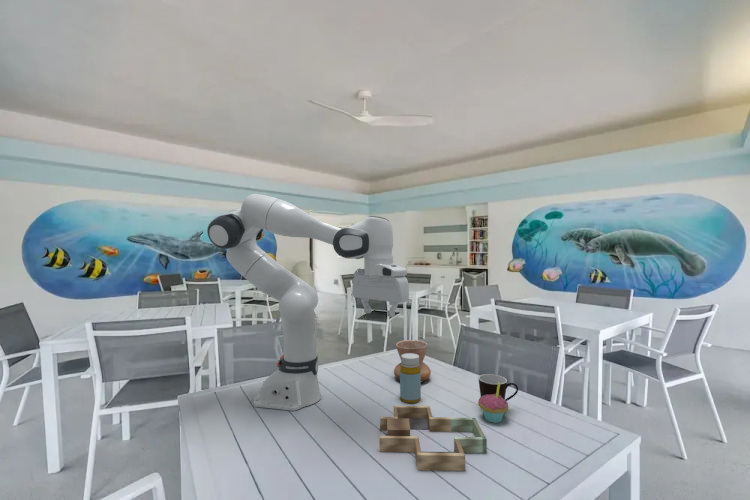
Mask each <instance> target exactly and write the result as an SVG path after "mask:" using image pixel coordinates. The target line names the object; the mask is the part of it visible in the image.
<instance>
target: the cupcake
mask: <svg viewBox="0 0 750 500" xmlns="http://www.w3.org/2000/svg"><path fill="white" fill-rule="evenodd" d="M499 388H500V381H499V383H498V386H497V392H496V394H489V395H487V394H486V395H483V396H482V397H481V396H480V397H479V399H478V401H477V404H478V407H479V408H480V409H481V410H482V411H483V416H484V418H485V420H486V421H487V422H490V423H495V424H498V423H501V422H502V420H503V417H504V414H505V413H506V412H507V411H508V410H509V404H508V403H509V402H508V400H507V401H506V400H504V398H502V397H501V396H499V395H498V394H499Z"/></svg>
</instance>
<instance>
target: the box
mask: <svg viewBox="0 0 750 500" xmlns="http://www.w3.org/2000/svg"><path fill="white" fill-rule="evenodd" d="M387 418H396V419H409V424H410V430H424V431H425V430H427V431H428V430H429V432H436V433H437V432H446V433H447V432H448V433H450V432H451V433H452V432H453V433H454V432H455V433H459V432H460V433H472V434H473V436H453V451H422V449H421V442H420V437H419V436H418V435H417V436H416V435H412V436H411V435H410V436H387V435H379V440H378V441H379V452H381V453H414V454H415V463H416V469H417V471H448V472H449V471H452V472H455V471H456V472H457V471H459V472H461V471H462V472H466V454H488V448H487V447H488V445H487V444H488V443H487V442H488V440H487V437H486V435H485V433H484V431H483V430H482V428H481V426H480V424H479V422H478V420H477V418H476V417H447V416H445V417H441V416H440V417H435V416H433V414H432V410H431V406H430V405H393V416H380V418H379V422H380V423H379V431H380V432H387Z"/></svg>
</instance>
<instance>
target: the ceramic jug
mask: <svg viewBox="0 0 750 500" xmlns="http://www.w3.org/2000/svg"><path fill="white" fill-rule="evenodd" d="M395 345H396V350H397V354H398V356H399V359H400V360H401V355H402V354H405V353H414V354H417V355H419V367H420V371H421V383H422V382H425V381H427V380H428V379H429V378H430V376H431V375H432V374H431V372H432V371H431V368H430V367H429V366H428V364H426V363H424V359H425V356H426V355H427V350H428V343H427V342H425V341H423V340H419V339H414V340H412V339H403V340H400V341H398V342H397V343H396V344H395ZM400 368H401V362H399V363H398V364H396V366H395V367H394V369H393V373H394V375H395V376H394V377H396V378H397V379H398V380H400Z"/></svg>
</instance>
